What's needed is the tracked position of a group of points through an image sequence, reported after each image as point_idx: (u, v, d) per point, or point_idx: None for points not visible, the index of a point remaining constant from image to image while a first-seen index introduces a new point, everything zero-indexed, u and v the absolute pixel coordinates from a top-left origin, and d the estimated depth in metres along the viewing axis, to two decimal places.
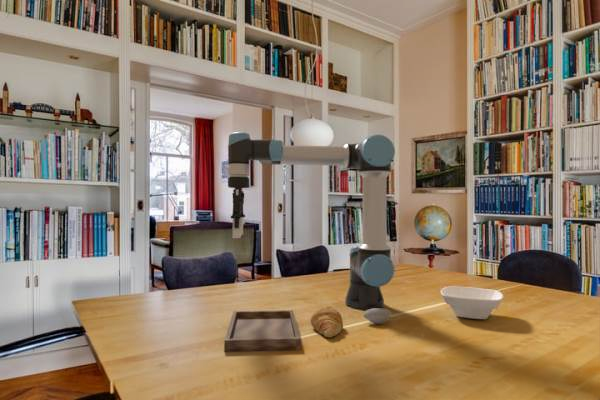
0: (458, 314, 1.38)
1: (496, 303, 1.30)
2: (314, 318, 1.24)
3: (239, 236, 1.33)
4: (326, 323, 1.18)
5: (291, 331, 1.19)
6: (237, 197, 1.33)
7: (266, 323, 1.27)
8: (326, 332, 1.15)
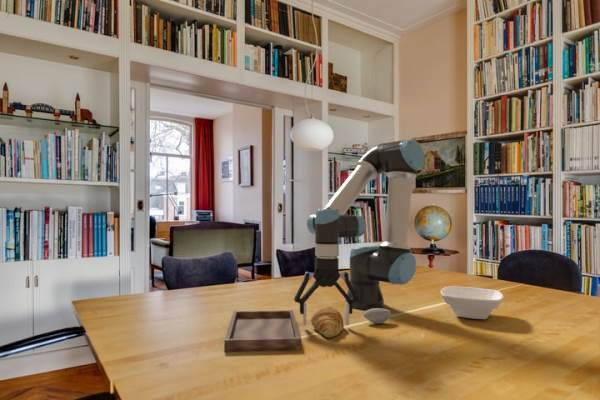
0: (458, 314, 1.38)
1: (496, 303, 1.30)
2: (315, 318, 1.24)
3: (303, 323, 1.23)
4: (326, 323, 1.18)
5: (291, 331, 1.19)
6: (303, 280, 1.25)
7: (266, 323, 1.27)
8: (326, 332, 1.15)
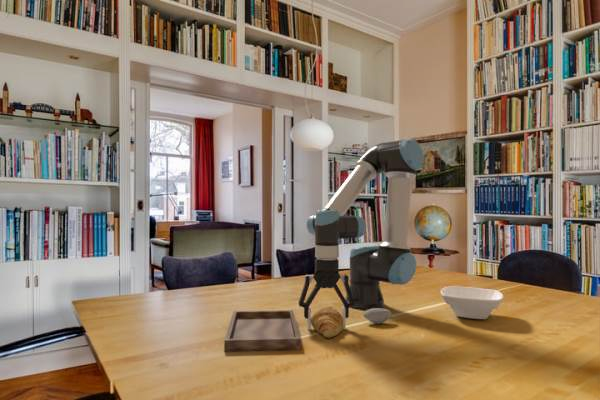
0: (458, 314, 1.38)
1: (496, 303, 1.30)
2: (314, 318, 1.24)
3: (308, 327, 1.24)
4: (326, 323, 1.18)
5: (291, 331, 1.19)
6: (304, 284, 1.25)
7: (266, 323, 1.27)
8: (325, 332, 1.15)
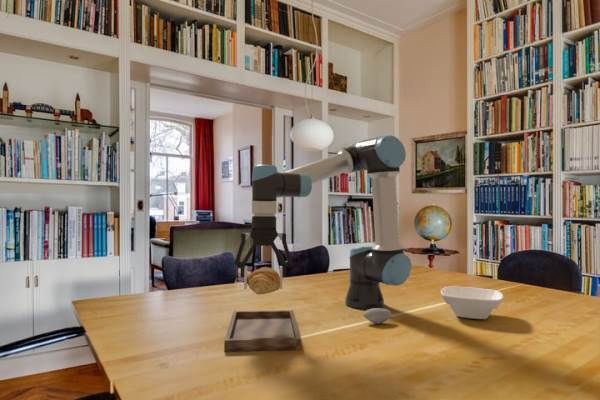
0: (458, 314, 1.38)
1: (496, 303, 1.30)
2: (250, 277, 1.19)
3: (244, 287, 1.19)
4: (259, 280, 1.14)
5: (291, 331, 1.19)
6: (241, 242, 1.20)
7: (266, 323, 1.27)
8: (256, 289, 1.11)
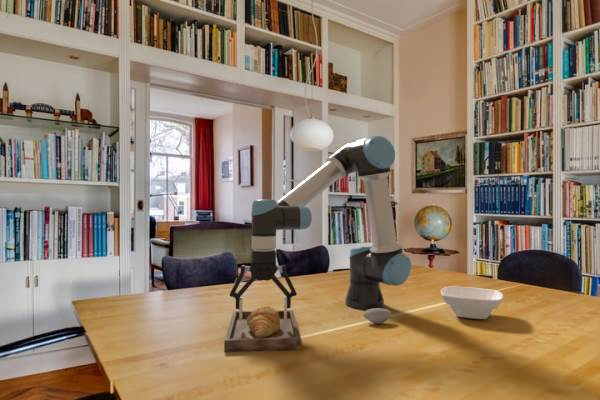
0: (458, 314, 1.38)
1: (496, 303, 1.30)
2: (250, 318, 1.19)
3: (239, 318, 1.19)
4: (259, 323, 1.13)
5: (291, 331, 1.19)
6: None
7: None
8: (256, 333, 1.11)
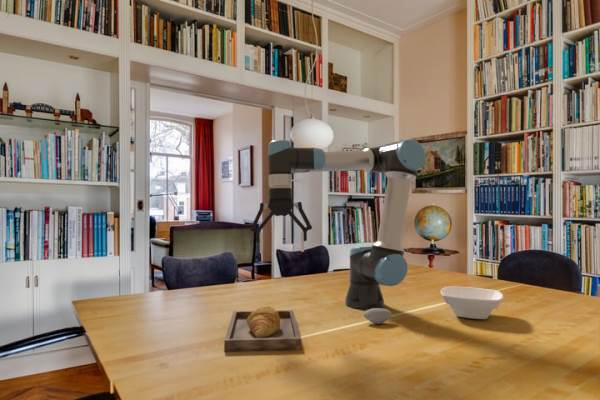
0: (458, 314, 1.38)
1: (496, 303, 1.30)
2: (250, 318, 1.19)
3: (260, 251, 1.28)
4: (259, 323, 1.13)
5: (291, 331, 1.19)
6: None
7: None
8: (256, 333, 1.10)
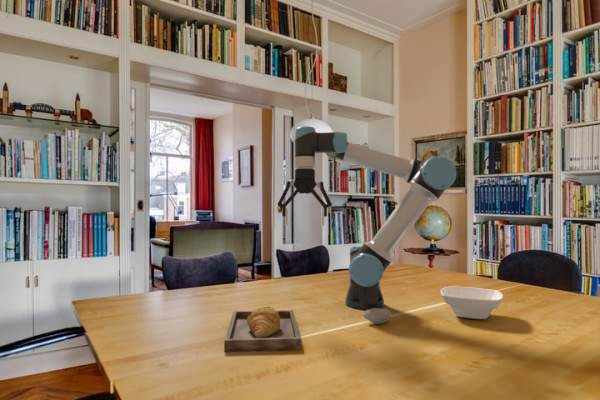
0: (458, 314, 1.38)
1: (496, 303, 1.30)
2: (250, 318, 1.19)
3: (285, 224, 1.46)
4: (259, 323, 1.13)
5: (291, 331, 1.19)
6: (285, 188, 1.47)
7: None
8: (256, 333, 1.10)
